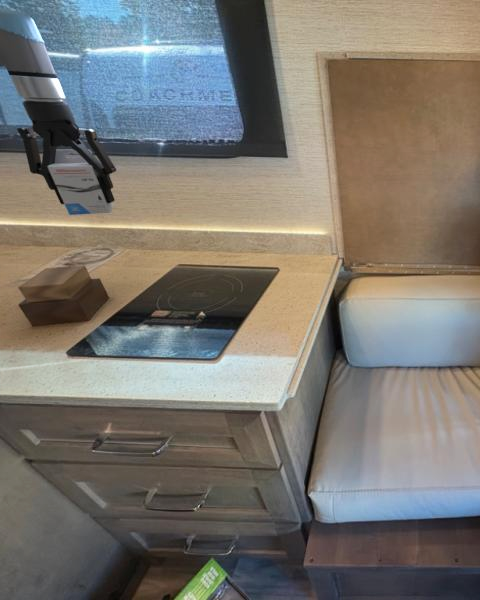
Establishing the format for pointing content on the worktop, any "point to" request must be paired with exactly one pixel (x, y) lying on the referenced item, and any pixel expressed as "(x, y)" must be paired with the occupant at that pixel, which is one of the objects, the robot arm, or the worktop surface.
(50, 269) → the box stack
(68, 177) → the ink box
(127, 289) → the worktop surface
